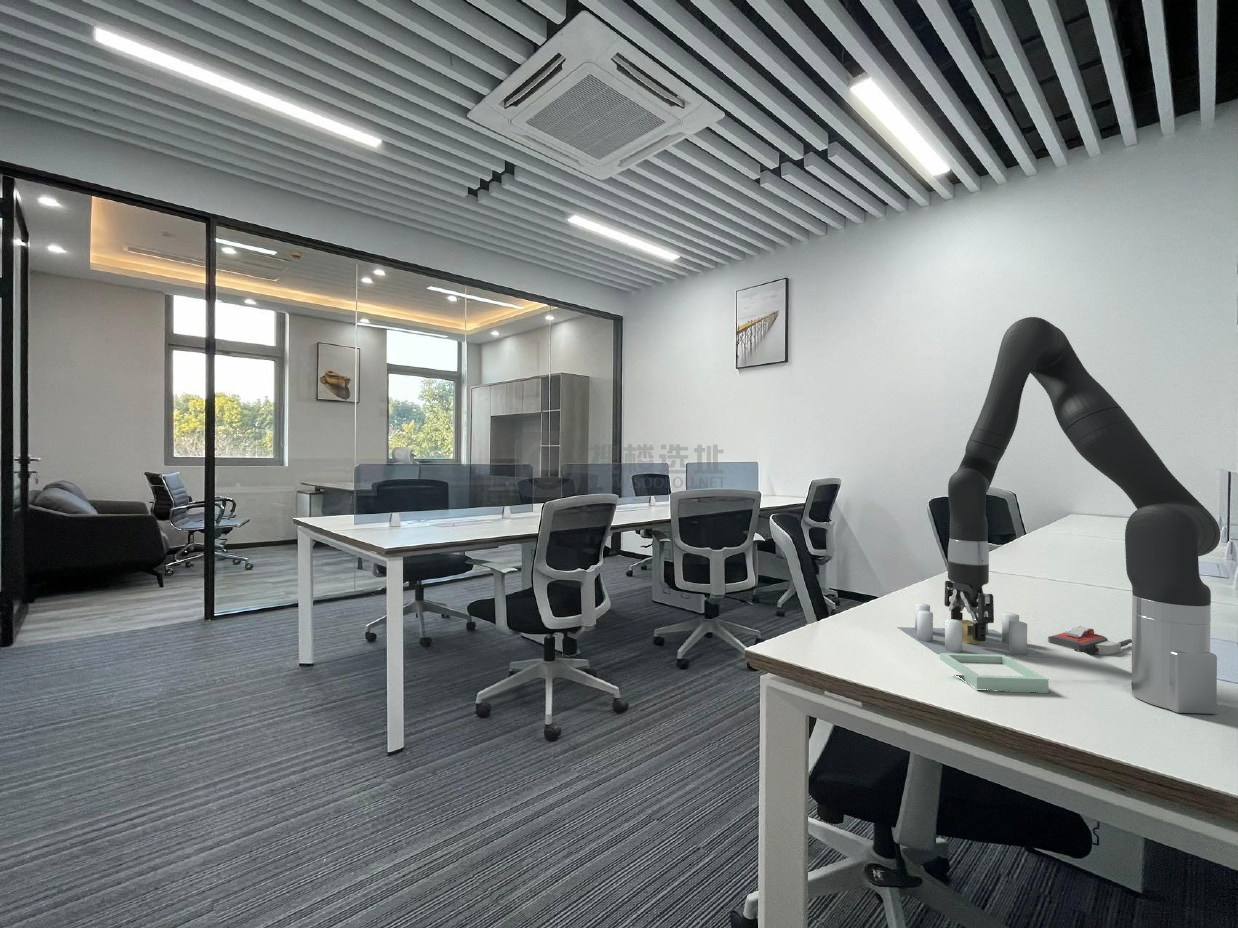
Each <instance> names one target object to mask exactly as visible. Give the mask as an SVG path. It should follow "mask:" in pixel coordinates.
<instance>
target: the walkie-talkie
mask: <svg viewBox="0 0 1238 928" xmlns="http://www.w3.org/2000/svg"><path fill="white" fill-rule="evenodd" d="M1047 641H1048V643H1049V644H1053V645H1056V646H1060V647H1067V648H1070V649H1072V650H1074V652H1077V653H1084V654H1086V655H1089V656H1091V655H1093V654H1096V655H1107V656H1110V655H1114V654H1119V653H1121V650H1122V649H1121V648H1123V647H1126V646H1129V644H1132V638H1128V639H1125V640H1122V641H1118V642H1117V641H1112V640H1109V638H1108V637H1105V636H1104V635H1101V634H1098V633H1095V630H1094V628H1090V627H1085V626H1081V625H1080V626H1076V627H1073V628H1071V630H1070V631H1069V630H1068V631H1065V632H1062V633H1057V634H1053V635H1050V636H1048V637H1047Z"/></svg>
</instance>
